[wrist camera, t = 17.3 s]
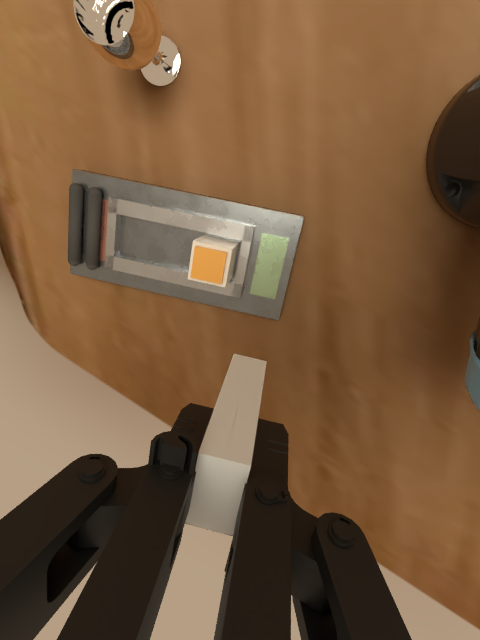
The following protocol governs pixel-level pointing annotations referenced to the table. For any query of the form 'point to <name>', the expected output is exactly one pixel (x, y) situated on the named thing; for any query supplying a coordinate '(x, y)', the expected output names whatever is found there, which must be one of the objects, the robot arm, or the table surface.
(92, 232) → the twin grey rollers
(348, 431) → the table surface
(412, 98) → the table surface
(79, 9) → the wineglass
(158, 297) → the table surface
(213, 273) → the toggle
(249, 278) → the panel
